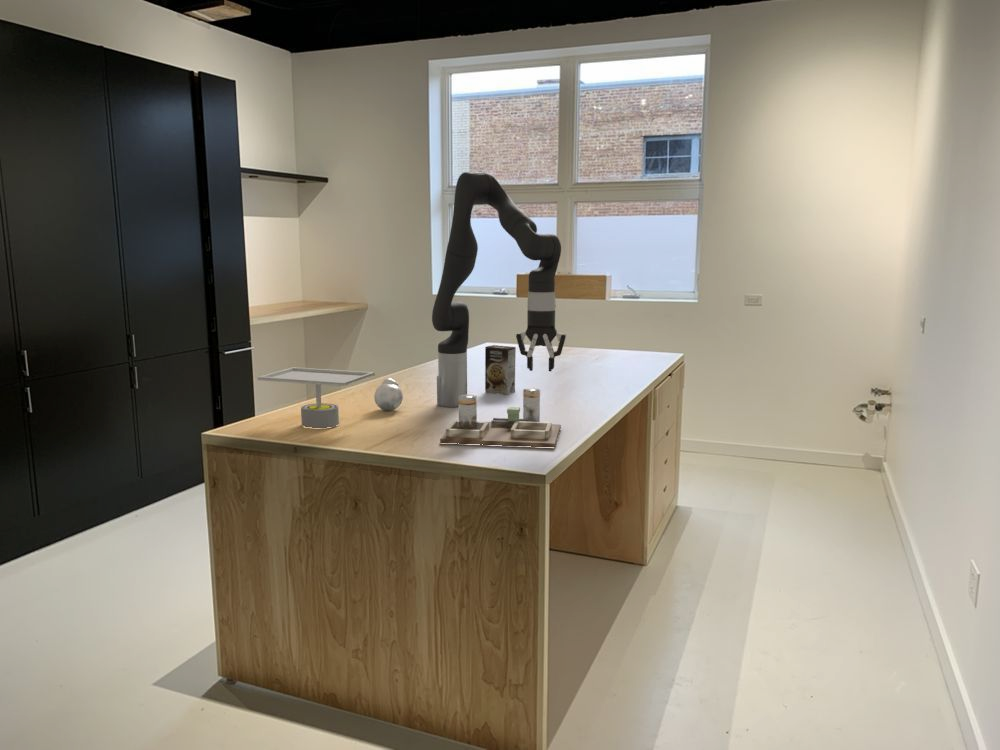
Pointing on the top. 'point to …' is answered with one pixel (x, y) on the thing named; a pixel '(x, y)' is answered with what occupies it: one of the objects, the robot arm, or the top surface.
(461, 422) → the seated billet
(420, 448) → the top surface
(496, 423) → the pallet
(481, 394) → the top surface
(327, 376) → the solar panel model
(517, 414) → the green notched block
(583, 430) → the top surface
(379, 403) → the grey rounded lump
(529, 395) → the cylinder
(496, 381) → the coffee box
